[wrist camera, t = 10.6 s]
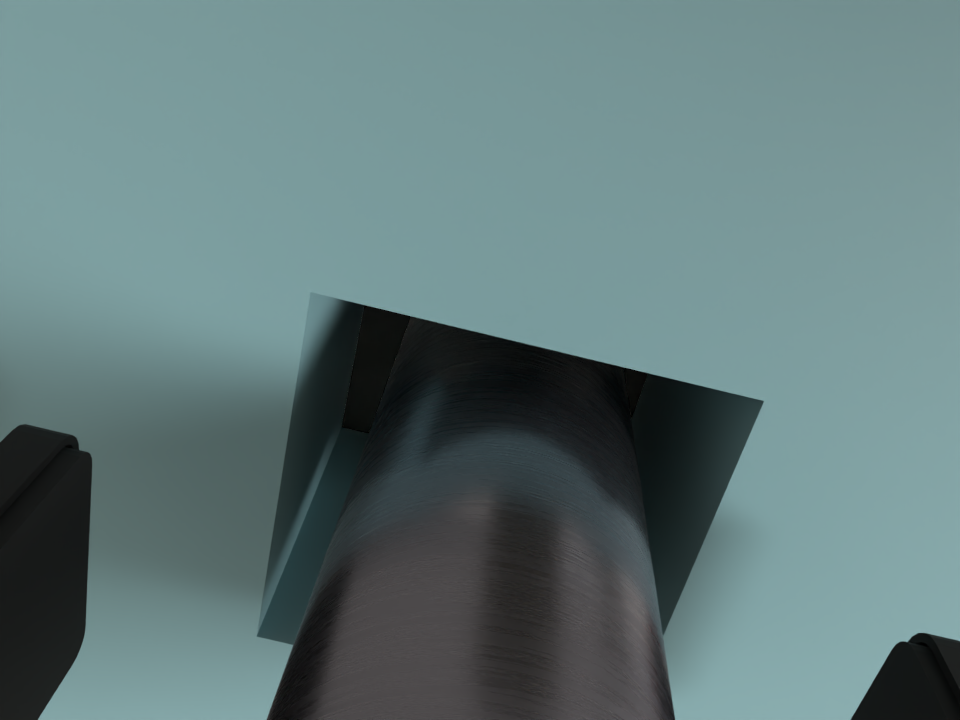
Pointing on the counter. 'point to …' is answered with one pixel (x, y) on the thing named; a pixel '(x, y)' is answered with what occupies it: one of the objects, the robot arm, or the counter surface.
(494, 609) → the long pin
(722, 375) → the socket block
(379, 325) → the counter surface
